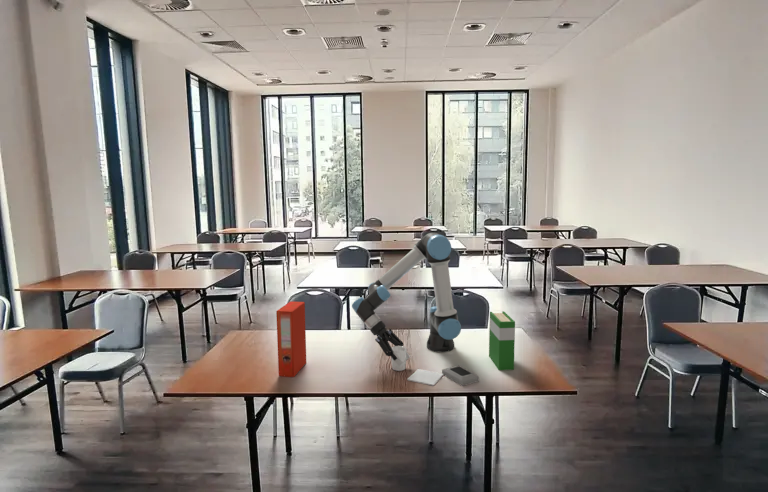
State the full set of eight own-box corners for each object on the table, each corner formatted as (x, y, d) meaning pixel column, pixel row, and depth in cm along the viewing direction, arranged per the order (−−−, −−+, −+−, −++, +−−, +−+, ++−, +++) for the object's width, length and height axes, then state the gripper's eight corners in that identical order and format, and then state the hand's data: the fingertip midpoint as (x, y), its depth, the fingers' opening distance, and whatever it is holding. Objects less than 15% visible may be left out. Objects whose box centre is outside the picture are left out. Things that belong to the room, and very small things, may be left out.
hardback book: (488, 356, 238) (489, 311, 235) (502, 355, 239) (504, 311, 235) (498, 370, 221) (499, 322, 217) (513, 369, 221) (515, 321, 218)
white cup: (408, 365, 227) (408, 346, 226) (404, 372, 220) (404, 352, 218) (393, 364, 229) (392, 345, 228) (388, 370, 222) (388, 350, 220)
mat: (418, 369, 222) (418, 368, 222) (443, 374, 216) (443, 373, 216) (407, 380, 211) (407, 379, 211) (433, 385, 205) (433, 384, 205)
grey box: (458, 363, 222) (478, 374, 209) (457, 370, 222) (478, 381, 209) (442, 367, 217) (462, 378, 204) (442, 374, 217) (462, 386, 205)
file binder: (307, 362, 233) (304, 301, 228) (294, 377, 216) (292, 311, 211) (291, 362, 234) (289, 301, 230) (278, 376, 217) (275, 310, 213)
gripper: (380, 323, 238) (408, 358, 233) (360, 335, 220) (390, 373, 215) (389, 314, 235) (418, 350, 230) (369, 326, 217) (400, 364, 212)
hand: (404, 361), depth 222 cm, fingers closed on white cup, 8 cm apart
